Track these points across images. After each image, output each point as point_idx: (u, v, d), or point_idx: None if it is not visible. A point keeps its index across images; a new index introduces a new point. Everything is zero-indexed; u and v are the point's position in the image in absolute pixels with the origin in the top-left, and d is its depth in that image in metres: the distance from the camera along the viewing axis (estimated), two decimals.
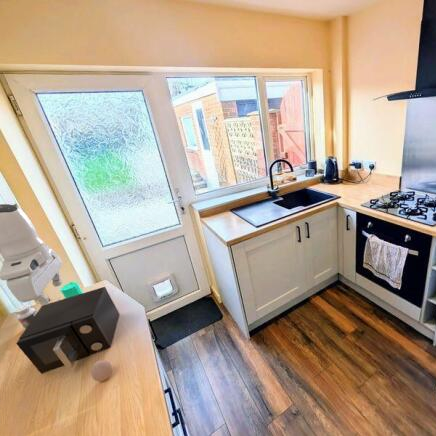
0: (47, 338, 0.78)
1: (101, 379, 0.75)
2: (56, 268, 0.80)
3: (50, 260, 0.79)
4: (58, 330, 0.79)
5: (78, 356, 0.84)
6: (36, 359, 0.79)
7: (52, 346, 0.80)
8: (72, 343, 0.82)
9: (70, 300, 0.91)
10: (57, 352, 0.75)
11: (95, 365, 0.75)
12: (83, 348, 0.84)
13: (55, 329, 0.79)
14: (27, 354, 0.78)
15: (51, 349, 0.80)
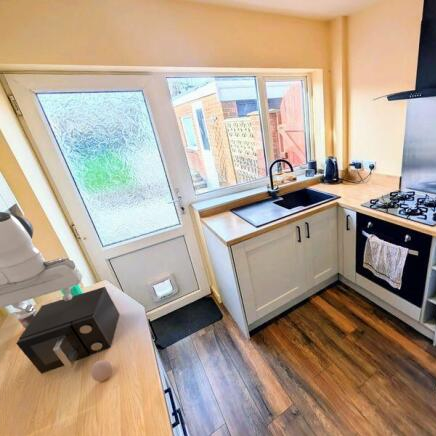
0: (47, 338, 0.78)
1: (101, 379, 0.75)
2: (57, 287, 0.72)
3: (52, 277, 0.70)
4: (58, 330, 0.79)
5: (78, 356, 0.84)
6: (36, 359, 0.79)
7: (52, 346, 0.80)
8: (72, 343, 0.82)
9: (70, 300, 0.91)
10: (57, 352, 0.75)
11: (95, 365, 0.75)
12: (83, 348, 0.84)
13: (55, 329, 0.79)
14: (27, 354, 0.78)
15: (51, 349, 0.80)
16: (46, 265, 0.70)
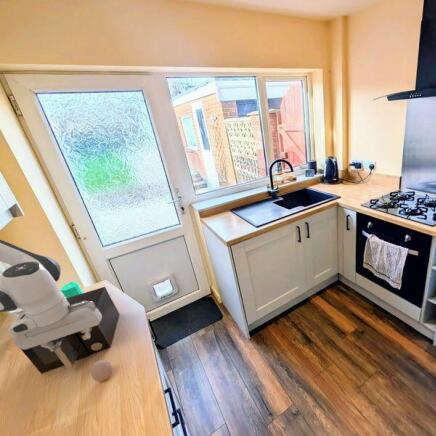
0: None
1: (101, 379, 0.75)
2: (79, 328, 0.76)
3: (75, 320, 0.75)
4: None
5: (78, 356, 0.84)
6: (36, 359, 0.79)
7: None
8: (72, 343, 0.82)
9: (70, 300, 0.91)
10: (57, 352, 0.75)
11: (95, 365, 0.75)
12: (83, 348, 0.84)
13: None
14: (27, 354, 0.78)
15: None
16: (70, 308, 0.75)
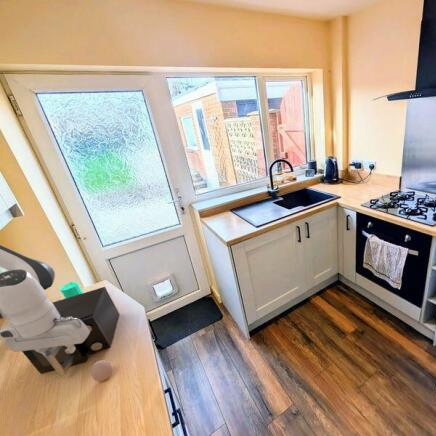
0: None
1: (101, 379, 0.75)
2: (63, 343, 0.72)
3: (59, 334, 0.71)
4: None
5: (75, 361, 0.82)
6: (35, 360, 0.79)
7: None
8: None
9: (70, 300, 0.91)
10: (49, 359, 0.73)
11: (95, 365, 0.75)
12: (79, 354, 0.82)
13: None
14: (26, 354, 0.77)
15: None
16: (55, 322, 0.70)
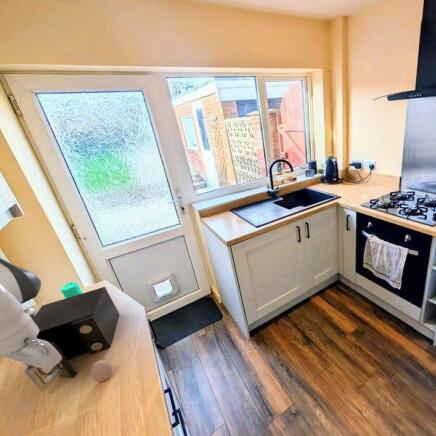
0: None
1: (101, 379, 0.75)
2: (34, 364, 0.66)
3: (29, 356, 0.65)
4: None
5: (63, 374, 0.78)
6: None
7: None
8: None
9: (70, 300, 0.91)
10: (27, 374, 0.70)
11: (95, 365, 0.75)
12: (66, 370, 0.77)
13: None
14: None
15: None
16: (26, 343, 0.64)
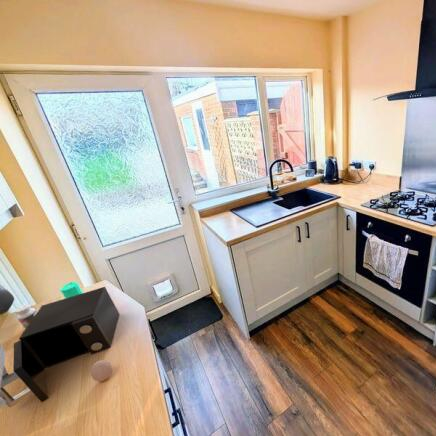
0: None
1: (101, 379, 0.75)
2: None
3: None
4: None
5: None
6: None
7: None
8: None
9: (70, 300, 0.91)
10: None
11: (95, 365, 0.75)
12: None
13: (16, 360, 0.69)
14: None
15: None
16: None
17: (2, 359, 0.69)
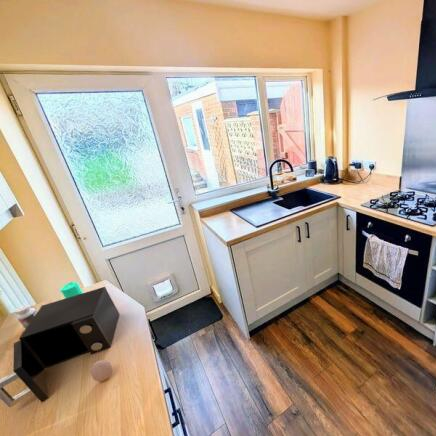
0: None
1: (101, 379, 0.75)
2: None
3: None
4: None
5: None
6: None
7: None
8: None
9: (70, 300, 0.91)
10: None
11: (95, 365, 0.75)
12: None
13: (16, 360, 0.69)
14: None
15: None
16: None
17: None
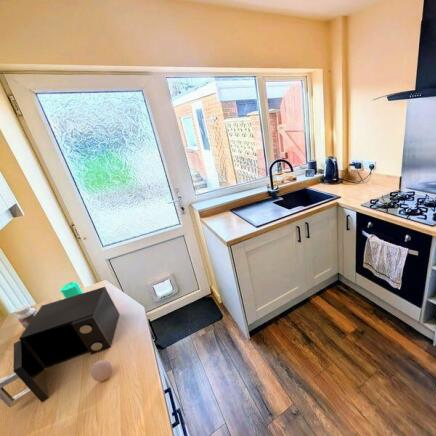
0: None
1: (101, 379, 0.75)
2: None
3: None
4: None
5: None
6: None
7: None
8: None
9: (70, 300, 0.91)
10: None
11: (95, 365, 0.75)
12: None
13: (16, 360, 0.69)
14: None
15: None
16: None
17: None
